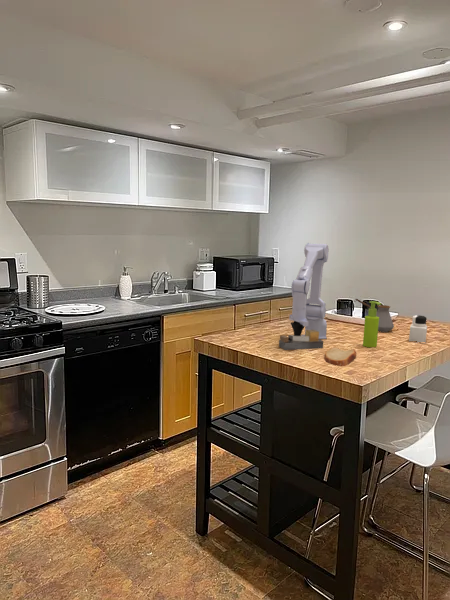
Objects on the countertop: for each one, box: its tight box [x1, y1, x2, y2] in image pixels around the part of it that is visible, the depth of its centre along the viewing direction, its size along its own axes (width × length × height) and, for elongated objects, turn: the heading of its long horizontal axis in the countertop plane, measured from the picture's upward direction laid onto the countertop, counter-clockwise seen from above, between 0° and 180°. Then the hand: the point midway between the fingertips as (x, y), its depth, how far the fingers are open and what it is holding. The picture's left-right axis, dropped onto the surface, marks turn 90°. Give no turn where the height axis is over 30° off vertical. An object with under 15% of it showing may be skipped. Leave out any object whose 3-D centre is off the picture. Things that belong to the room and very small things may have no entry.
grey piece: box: [278, 334, 324, 351], centre depth 201 cm, size 18×6×5 cm, turn 107°
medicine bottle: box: [408, 314, 428, 343], centre depth 220 cm, size 7×7×12 cm
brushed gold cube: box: [304, 330, 319, 341], centre depth 202 cm, size 4×4×4 cm
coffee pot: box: [354, 298, 395, 333], centre depth 243 cm, size 21×12×15 cm, turn 53°
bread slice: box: [323, 346, 357, 367], centre depth 186 cm, size 18×18×4 cm
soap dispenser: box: [362, 300, 382, 348], centre depth 206 cm, size 6×7×20 cm
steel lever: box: [287, 334, 309, 341], centre depth 199 cm, size 9×2×2 cm, turn 86°
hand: (297, 339), depth 201 cm, fingers closed, pressing on steel lever
